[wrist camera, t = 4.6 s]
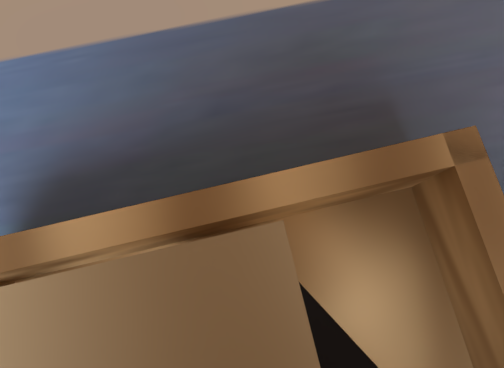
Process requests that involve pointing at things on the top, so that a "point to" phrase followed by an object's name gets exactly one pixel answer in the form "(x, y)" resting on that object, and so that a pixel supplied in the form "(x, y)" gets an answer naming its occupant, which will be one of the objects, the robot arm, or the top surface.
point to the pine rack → (340, 244)
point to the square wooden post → (166, 309)
